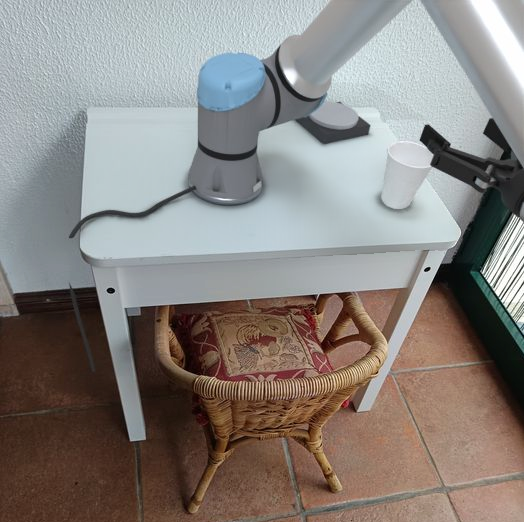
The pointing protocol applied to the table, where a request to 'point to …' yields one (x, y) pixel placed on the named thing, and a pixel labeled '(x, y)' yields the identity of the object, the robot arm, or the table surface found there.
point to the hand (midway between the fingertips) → (456, 128)
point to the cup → (404, 173)
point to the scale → (334, 123)
